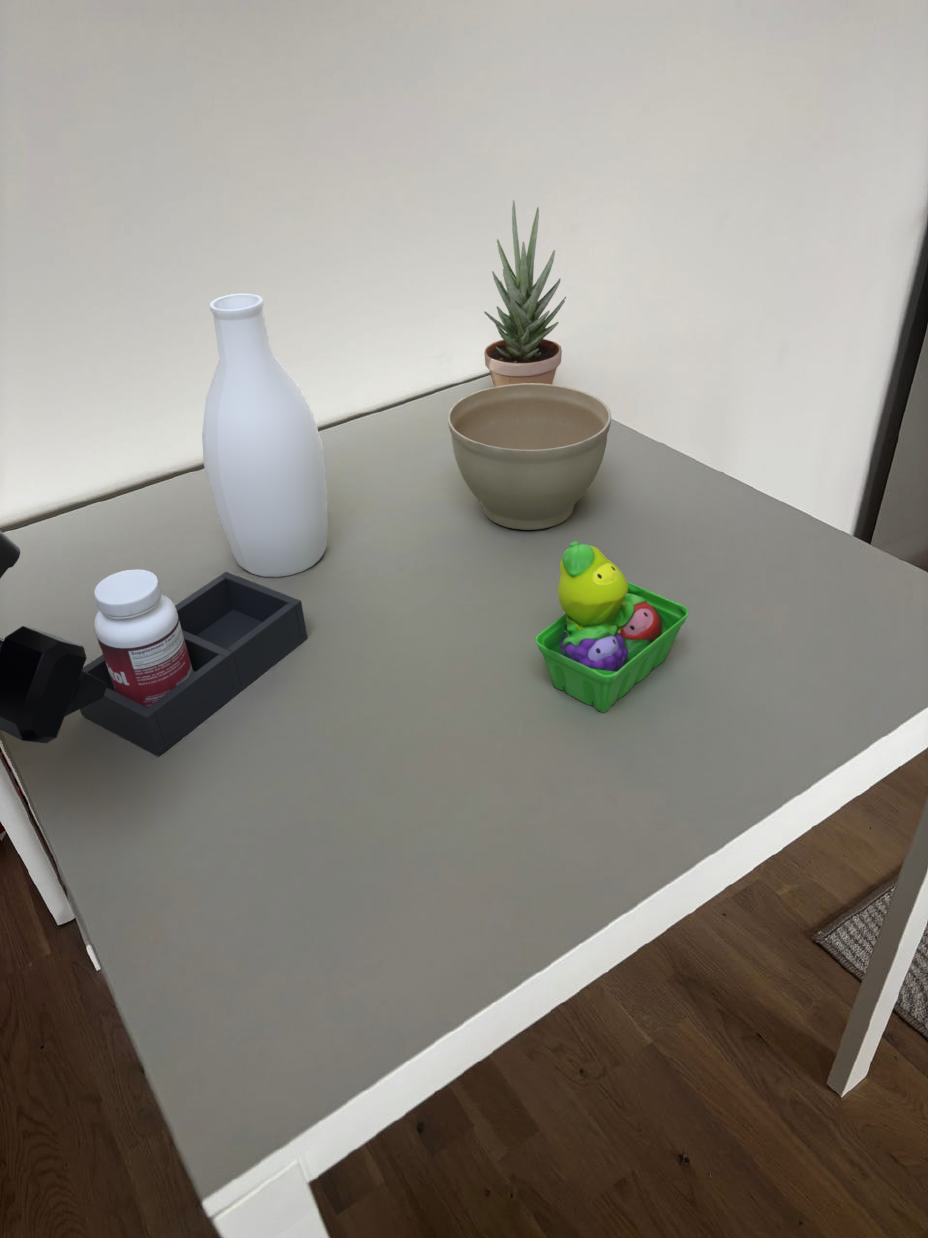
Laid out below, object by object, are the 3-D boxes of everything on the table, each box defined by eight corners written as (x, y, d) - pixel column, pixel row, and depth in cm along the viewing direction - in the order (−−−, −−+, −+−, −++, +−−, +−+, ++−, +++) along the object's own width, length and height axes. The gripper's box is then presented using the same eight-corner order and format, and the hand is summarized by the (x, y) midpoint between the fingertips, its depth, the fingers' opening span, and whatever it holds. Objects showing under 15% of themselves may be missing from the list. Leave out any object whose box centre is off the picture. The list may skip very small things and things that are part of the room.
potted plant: (531, 383, 129) (532, 185, 115) (575, 407, 123) (581, 200, 108) (468, 402, 125) (460, 199, 111) (510, 428, 119) (507, 216, 104)
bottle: (348, 570, 94) (314, 311, 79) (234, 595, 92) (176, 332, 77) (323, 516, 103) (288, 273, 88) (218, 538, 100) (163, 291, 85)
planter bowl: (624, 539, 97) (631, 439, 91) (465, 558, 95) (461, 458, 89) (584, 466, 110) (587, 374, 103) (443, 481, 108) (438, 389, 102)
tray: (158, 757, 74) (146, 717, 72) (82, 716, 79) (67, 677, 76) (308, 638, 86) (301, 600, 83) (233, 608, 90) (225, 571, 88)
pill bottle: (112, 688, 80) (75, 577, 74) (185, 663, 82) (156, 554, 76) (129, 732, 76) (92, 619, 69) (207, 705, 78) (177, 592, 71)
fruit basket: (606, 729, 75) (614, 611, 68) (519, 682, 80) (518, 567, 73) (687, 659, 81) (701, 544, 75) (601, 618, 86) (608, 508, 80)
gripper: (9, 533, 51) (195, 598, 65) (-194, 462, 59) (11, 534, 73) (-68, 733, 51) (137, 755, 65) (-264, 634, 58) (-43, 673, 73)
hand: (57, 671), depth 69 cm, fingers open, 9 cm apart
